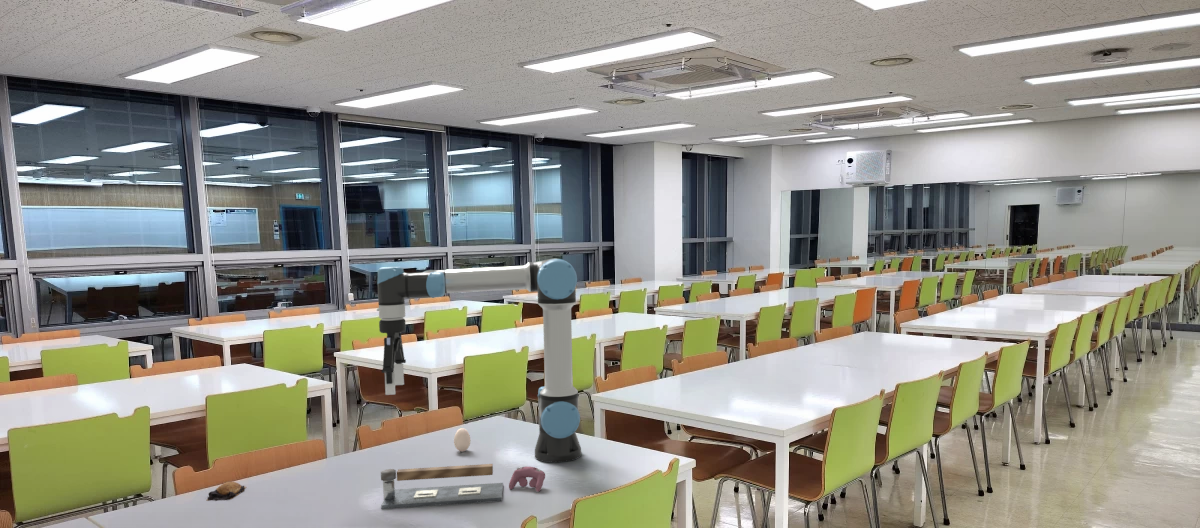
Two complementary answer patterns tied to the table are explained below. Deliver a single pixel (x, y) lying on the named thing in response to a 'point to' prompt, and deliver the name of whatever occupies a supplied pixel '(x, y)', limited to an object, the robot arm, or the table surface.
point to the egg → (462, 440)
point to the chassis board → (440, 495)
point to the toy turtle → (226, 491)
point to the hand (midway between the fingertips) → (395, 389)
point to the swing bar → (437, 472)
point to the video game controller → (525, 472)
